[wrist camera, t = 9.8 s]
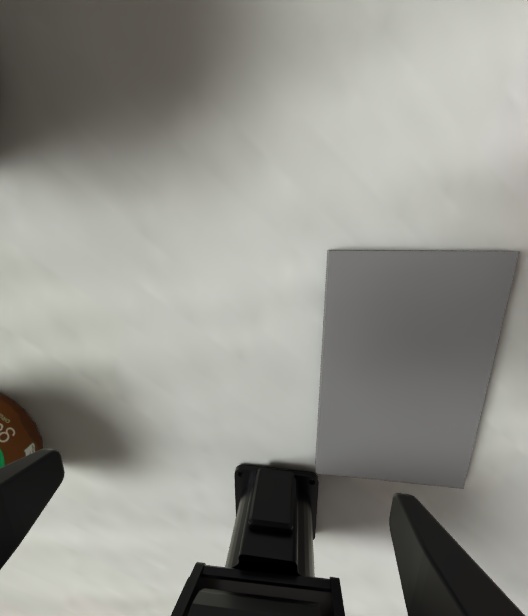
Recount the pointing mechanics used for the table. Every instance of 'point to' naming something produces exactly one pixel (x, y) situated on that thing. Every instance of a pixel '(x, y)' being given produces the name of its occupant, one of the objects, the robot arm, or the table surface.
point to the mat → (408, 361)
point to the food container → (16, 432)
